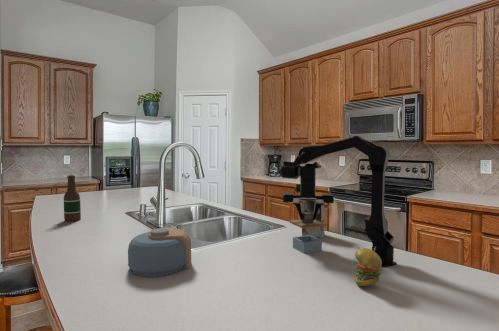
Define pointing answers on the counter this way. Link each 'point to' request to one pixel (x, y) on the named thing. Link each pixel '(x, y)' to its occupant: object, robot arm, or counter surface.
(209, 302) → the counter surface
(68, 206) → the beer bottle
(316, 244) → the light blue open box
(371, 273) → the hamburger
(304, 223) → the lid
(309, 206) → the coffee box
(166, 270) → the blue squat cylinder
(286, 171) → the robot arm
